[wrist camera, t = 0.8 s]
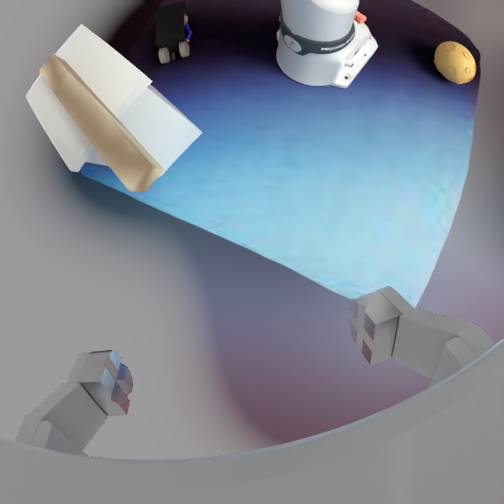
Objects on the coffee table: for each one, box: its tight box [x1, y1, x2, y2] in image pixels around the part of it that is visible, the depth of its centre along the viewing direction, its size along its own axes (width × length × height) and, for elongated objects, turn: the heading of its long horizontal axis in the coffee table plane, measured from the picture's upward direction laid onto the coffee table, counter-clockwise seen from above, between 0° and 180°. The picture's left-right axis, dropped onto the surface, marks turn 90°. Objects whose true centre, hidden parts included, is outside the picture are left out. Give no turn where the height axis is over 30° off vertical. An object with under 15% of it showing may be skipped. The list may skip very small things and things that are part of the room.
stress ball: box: [434, 42, 476, 84], centre depth 35 cm, size 10×10×10 cm
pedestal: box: [26, 24, 202, 177], centre depth 38 cm, size 14×20×26 cm
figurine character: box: [156, 1, 192, 64], centre depth 44 cm, size 7×8×15 cm
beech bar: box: [39, 54, 164, 192], centre depth 24 cm, size 3×26×3 cm, turn 44°
